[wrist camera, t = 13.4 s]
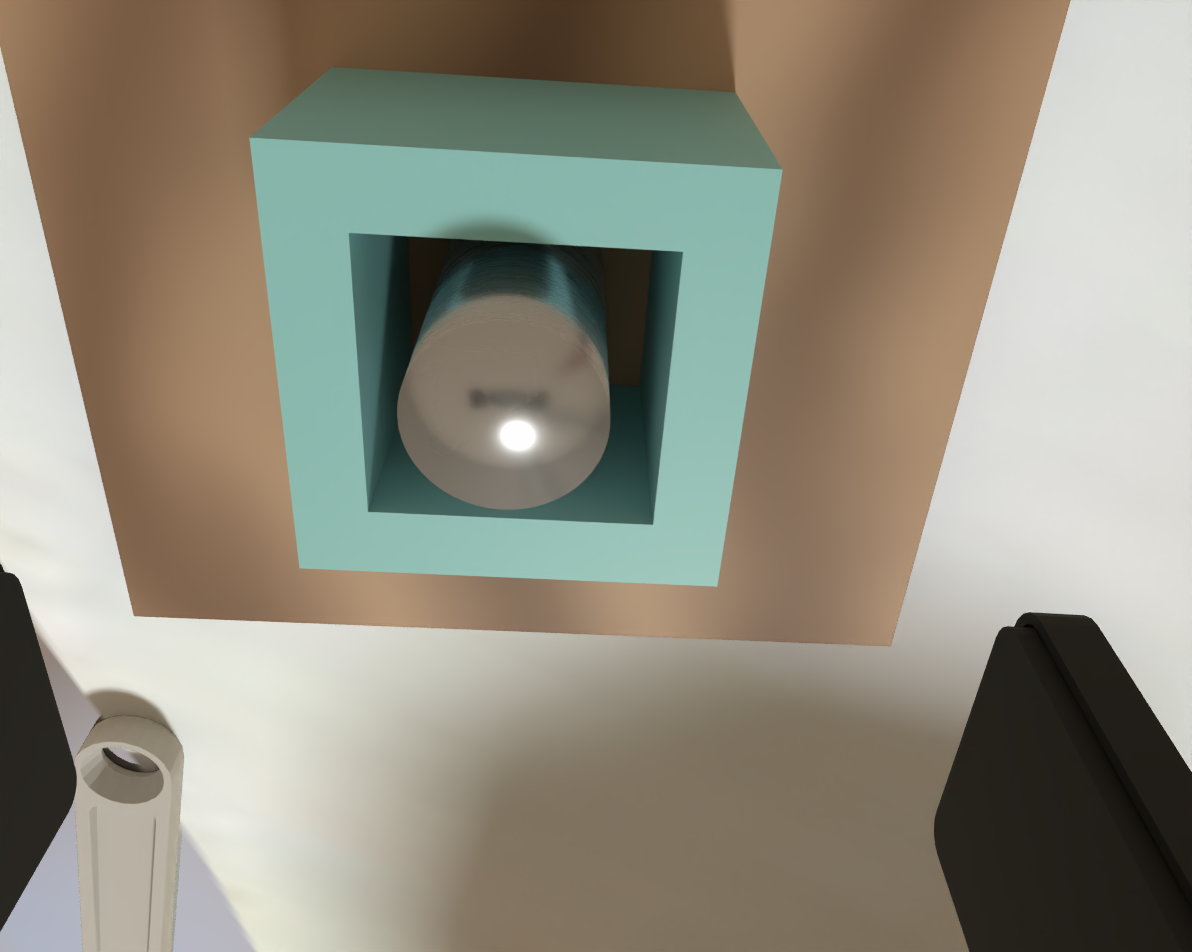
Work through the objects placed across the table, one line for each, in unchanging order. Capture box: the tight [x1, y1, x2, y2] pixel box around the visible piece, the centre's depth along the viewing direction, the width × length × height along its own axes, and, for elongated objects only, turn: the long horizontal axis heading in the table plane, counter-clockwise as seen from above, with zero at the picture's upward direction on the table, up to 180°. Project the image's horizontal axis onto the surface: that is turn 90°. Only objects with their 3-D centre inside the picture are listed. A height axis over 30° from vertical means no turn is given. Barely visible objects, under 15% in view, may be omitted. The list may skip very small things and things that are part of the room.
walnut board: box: [0, 0, 1070, 646], centre depth 20 cm, size 18×18×2 cm
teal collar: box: [249, 67, 783, 587], centre depth 17 cm, size 7×7×5 cm
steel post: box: [397, 239, 610, 510], centre depth 17 cm, size 3×3×6 cm
